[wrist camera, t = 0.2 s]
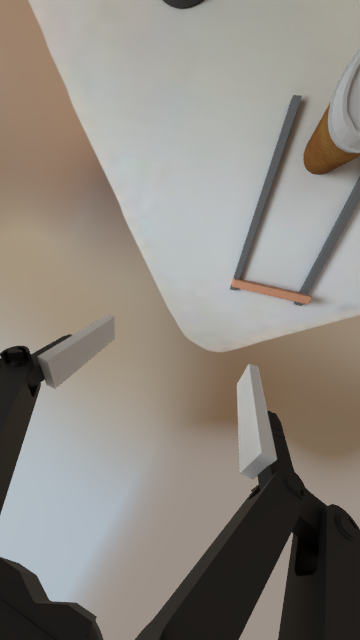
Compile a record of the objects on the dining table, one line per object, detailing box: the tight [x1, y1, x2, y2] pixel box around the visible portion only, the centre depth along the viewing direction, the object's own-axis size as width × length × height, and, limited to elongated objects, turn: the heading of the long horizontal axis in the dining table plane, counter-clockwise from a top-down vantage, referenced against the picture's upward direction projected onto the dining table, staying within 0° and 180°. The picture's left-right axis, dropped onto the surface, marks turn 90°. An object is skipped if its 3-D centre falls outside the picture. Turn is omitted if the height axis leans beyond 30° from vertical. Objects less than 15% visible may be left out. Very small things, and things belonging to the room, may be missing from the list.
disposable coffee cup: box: [304, 49, 360, 174], centre depth 20 cm, size 10×10×12 cm
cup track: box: [230, 95, 360, 306], centre depth 29 cm, size 30×15×3 cm, turn 169°
